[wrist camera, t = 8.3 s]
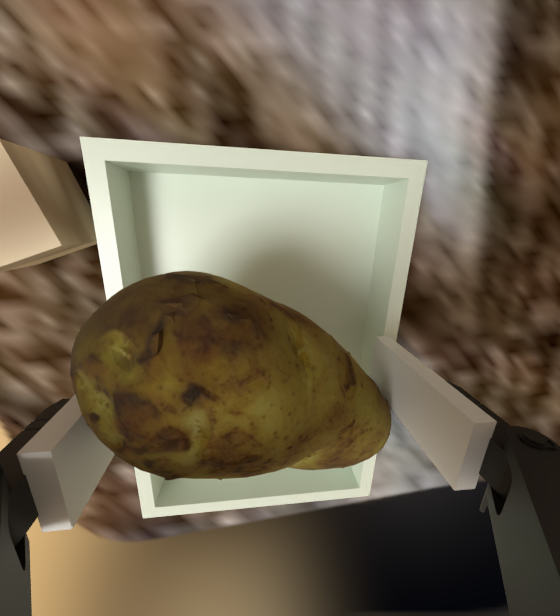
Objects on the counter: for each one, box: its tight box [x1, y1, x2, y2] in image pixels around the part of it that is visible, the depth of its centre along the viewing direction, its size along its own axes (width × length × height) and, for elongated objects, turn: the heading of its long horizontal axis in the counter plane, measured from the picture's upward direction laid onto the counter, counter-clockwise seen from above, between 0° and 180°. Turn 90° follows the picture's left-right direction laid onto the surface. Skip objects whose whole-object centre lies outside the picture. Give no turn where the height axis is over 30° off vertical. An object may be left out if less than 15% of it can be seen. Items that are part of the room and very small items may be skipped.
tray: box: [80, 137, 428, 518], centre depth 16 cm, size 21×15×3 cm
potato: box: [70, 271, 391, 480], centre depth 11 cm, size 8×13×8 cm, turn 33°
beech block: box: [0, 139, 97, 272], centre depth 12 cm, size 4×4×4 cm
